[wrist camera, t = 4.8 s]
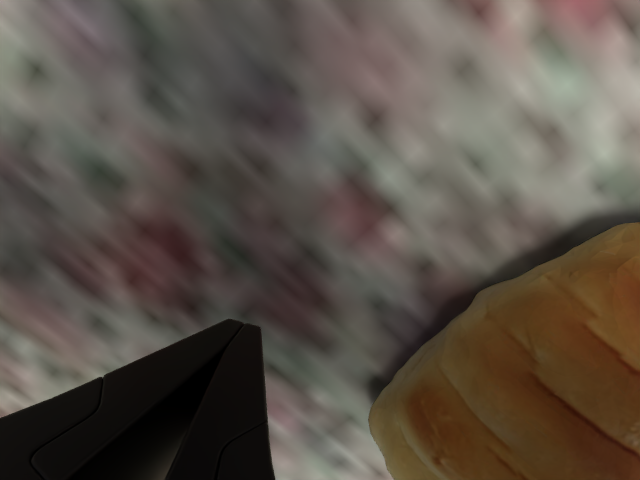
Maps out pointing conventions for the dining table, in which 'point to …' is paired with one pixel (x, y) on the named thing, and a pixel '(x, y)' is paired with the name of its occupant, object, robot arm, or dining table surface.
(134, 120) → the dining table surface
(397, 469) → the pastry
